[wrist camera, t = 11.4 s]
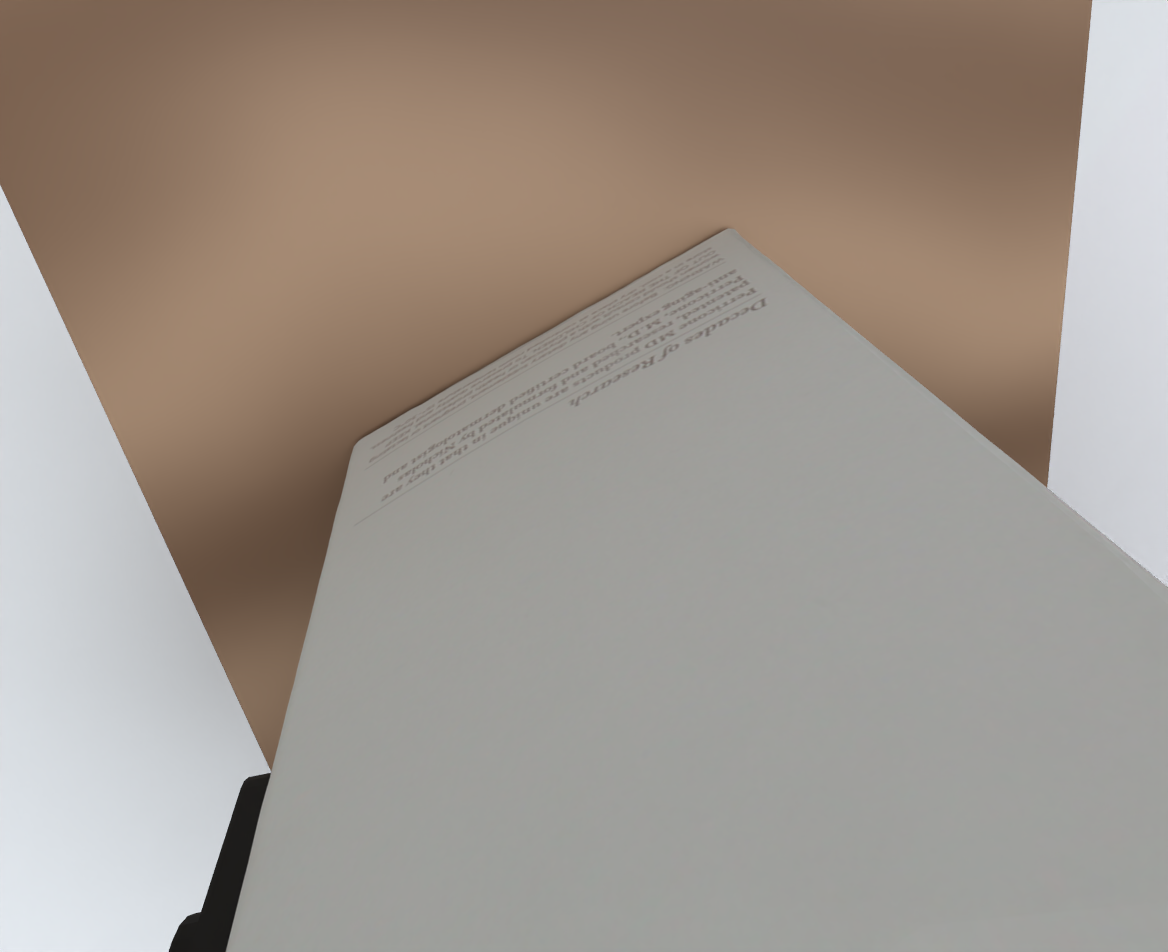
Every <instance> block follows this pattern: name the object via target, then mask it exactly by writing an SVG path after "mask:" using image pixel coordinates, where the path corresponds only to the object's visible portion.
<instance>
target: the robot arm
mask: <svg viewBox="0 0 1168 952" xmlns="http://www.w3.org/2000/svg"><path fill="white" fill-rule="evenodd" d="M270 775H271V773H267V774H263V775H258V776H253V777H248V778H247V779H246V780H245V781H244V783H243V785H242V787H241V790H240V793H239V796H238V799H237V802H236V805H235V808H234V811H233V814H232V818H231V821H230V824H229V827H228V830H227V833H226V836H225V839H224V842H223V846H222V849H221V852H220V855H219V858H218V861H217V864H216V867H215V870H214V874H213V877H212V880H211V883H210V886H209V889H208V892H207V895H206V898H205V902H204V905H203V908H202V911H201V912H199V913H195V914H192V915H189V916H187V917H186V919H185V920H184V921H183V922H182V923H181V924H180V925H179V927H178V930H177V932H176V934H175V936H174V938H173V941H172V943H171V946H170V949H169V952H226V949H227V945H228V941H229V937H230V933H231V929H232V925H233V921H234V917H235V913H236V909H237V905H238V901H239V897H240V893H241V889H242V885H243V881H244V877H245V873H246V870H247V866H248V862H249V857H250V853H251V849H252V845H253V840H254V836H255V832H256V828H257V824H258V820H259V816H260V812H261V808H262V804H263V800H264V797H265V793H266V790H267V786H268V783H269V779H270Z"/></svg>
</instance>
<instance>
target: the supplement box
mask: <svg viewBox="0 0 1168 952" xmlns="http://www.w3.org/2000/svg"><path fill="white" fill-rule="evenodd" d="M226 952H1168V587H1167V586H1166V585H1164V584H1163V583H1162V582H1161V581H1159V580H1158V579H1157V578H1156V577H1155V576H1153V575H1152V574H1151V573H1150V572H1148V571H1147V570H1146V569H1145V568H1143V567H1142V566H1141V565H1140V564H1139V563H1137V562H1136V561H1135V560H1134V559H1133V558H1131V557H1130V556H1129V555H1128V554H1126V553H1125V552H1124V551H1123V550H1122V549H1120V548H1119V547H1118V546H1117V545H1116V544H1114V543H1113V542H1112V541H1111V540H1109V539H1108V538H1107V537H1106V536H1105V535H1103V534H1102V533H1101V532H1100V531H1098V530H1097V529H1096V528H1095V527H1094V526H1092V525H1091V524H1090V523H1089V522H1088V521H1086V520H1085V519H1084V518H1083V517H1081V516H1080V515H1079V514H1078V513H1077V512H1075V511H1074V510H1073V509H1072V508H1071V507H1069V506H1068V505H1067V504H1066V503H1065V502H1063V501H1062V500H1061V499H1060V498H1059V497H1057V496H1056V495H1055V494H1054V493H1053V492H1051V491H1050V490H1049V489H1048V488H1047V487H1045V486H1044V485H1043V484H1042V483H1041V482H1039V481H1038V480H1037V479H1036V478H1035V477H1033V476H1032V475H1031V474H1030V473H1029V472H1027V471H1026V470H1025V469H1024V468H1023V467H1021V466H1020V465H1019V464H1018V463H1017V462H1015V461H1014V460H1013V459H1012V458H1010V457H1009V456H1008V455H1007V454H1005V453H1004V452H1003V451H1002V450H1000V449H999V448H998V447H997V446H995V445H994V444H993V443H992V442H990V441H989V440H988V439H987V438H985V437H984V436H983V435H982V434H980V433H979V432H978V431H977V430H976V429H974V428H973V427H972V426H971V425H970V424H968V423H967V422H966V421H965V420H964V419H962V418H961V417H960V416H959V415H958V414H956V413H955V412H954V411H953V410H952V409H950V408H949V407H948V406H947V405H946V404H944V403H943V402H942V401H941V400H940V399H938V398H937V397H936V396H935V395H934V394H932V393H931V392H930V391H929V390H928V389H926V388H925V387H924V386H923V385H922V384H920V383H919V382H918V381H917V380H915V379H914V378H913V377H912V376H911V375H909V374H908V373H907V372H906V371H904V370H903V369H902V368H901V367H900V366H898V365H897V364H896V363H895V362H893V361H892V360H891V359H890V358H889V357H887V356H886V355H885V354H884V353H882V352H881V351H880V350H879V349H877V348H876V347H875V346H874V345H873V344H871V343H870V342H869V341H868V340H866V339H865V338H864V337H863V336H862V335H860V334H859V333H858V332H857V331H855V330H854V329H853V328H852V327H851V326H849V325H848V324H847V323H846V322H845V321H843V320H842V319H841V318H840V317H839V316H837V315H836V314H835V313H834V312H833V311H831V310H830V309H829V308H828V307H827V306H825V305H824V304H823V303H822V302H820V301H819V300H818V299H816V298H815V297H814V296H813V295H812V294H811V293H810V292H808V291H807V290H806V289H805V288H804V287H802V286H801V285H800V284H799V283H797V282H796V281H795V280H794V279H792V278H791V277H790V276H789V275H788V274H787V273H786V272H785V271H784V270H782V269H781V268H780V267H779V266H777V265H776V264H775V263H774V262H772V261H771V260H770V259H769V258H768V257H766V256H765V255H763V254H762V253H761V252H760V251H758V250H757V249H756V248H755V247H754V246H752V245H751V244H750V243H749V242H747V241H746V240H745V239H744V238H742V237H741V236H740V235H739V233H738V232H737V231H736V230H735V229H729V228H728V229H726V230H724V231H722V232H720V233H719V234H717V235H715V236H713V237H711V238H709V239H708V240H706V241H704V242H702V243H700V244H699V245H697V246H695V247H694V248H692V249H690V250H688V251H687V252H685V253H683V254H681V255H680V256H678V257H676V258H674V259H672V260H670V261H669V262H667V263H665V264H663V265H661V266H659V267H658V268H656V269H655V270H653V271H651V272H650V273H648V274H646V275H644V276H643V277H641V278H639V279H637V280H635V281H634V282H632V283H631V284H629V285H627V286H626V287H624V288H622V289H620V290H618V291H617V292H615V293H613V294H612V295H610V296H608V297H607V298H605V299H603V300H601V301H599V302H597V303H596V304H594V305H592V306H590V307H588V308H586V309H584V310H582V311H581V312H579V313H577V314H576V315H574V316H572V317H571V318H569V319H567V320H566V321H564V322H562V323H561V324H559V325H557V326H556V327H554V328H552V329H551V330H549V331H547V332H545V333H544V334H542V335H540V336H538V337H536V338H535V339H533V340H531V341H529V342H527V343H525V344H524V345H522V346H520V347H518V348H517V349H515V350H513V351H512V352H510V353H508V354H506V355H505V356H503V357H501V358H500V359H498V360H496V361H494V362H493V363H491V364H489V365H488V366H486V367H484V368H483V369H481V370H479V371H477V372H476V373H474V374H472V375H470V376H468V377H467V378H465V379H463V380H461V381H459V382H458V383H456V384H454V385H453V386H451V387H449V388H448V389H446V390H444V391H443V392H441V393H439V394H438V395H436V396H434V397H433V398H431V399H429V400H428V401H426V402H425V403H423V404H421V405H419V406H417V407H415V408H413V409H411V410H409V411H407V412H406V413H404V414H402V415H401V416H399V417H398V418H396V419H394V420H393V421H391V422H389V423H388V424H386V425H385V426H383V427H381V428H379V429H378V430H376V431H374V432H372V433H371V434H369V435H367V436H365V437H364V438H362V439H361V440H359V441H358V442H357V443H356V445H355V446H354V447H353V451H352V454H351V458H350V461H349V466H348V470H347V475H346V479H345V483H344V487H343V491H342V495H341V499H340V502H339V505H338V508H337V512H336V516H335V520H334V524H333V528H332V533H331V537H330V540H329V545H328V549H327V554H326V557H325V561H324V565H323V569H322V573H321V576H320V580H319V584H318V589H317V593H316V597H315V601H314V605H313V609H312V613H311V618H310V621H309V625H308V629H307V633H306V637H305V641H304V645H303V648H302V652H301V656H300V660H299V664H298V668H297V672H296V676H295V681H294V685H293V689H292V692H291V696H290V700H289V703H288V707H287V711H286V715H285V719H284V724H283V728H282V732H281V736H280V740H279V744H278V748H277V752H276V755H275V759H274V763H273V767H272V771H271V775H270V779H269V783H268V786H267V790H266V793H265V797H264V800H263V804H262V808H261V812H260V816H259V820H258V824H257V828H256V832H255V836H254V840H253V845H252V849H251V853H250V857H249V862H248V866H247V870H246V873H245V877H244V881H243V885H242V889H241V893H240V897H239V901H238V905H237V909H236V913H235V917H234V921H233V925H232V929H231V933H230V937H229V941H228V945H227V949H226Z"/></svg>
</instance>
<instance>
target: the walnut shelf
mask: <svg viewBox="0 0 1168 952" xmlns="http://www.w3.org/2000/svg"><path fill="white" fill-rule="evenodd" d="M1091 8H1092V0H0V185H1V187H2V189H3V191H4V194H5V196H6V198H7V200H8V202H9V204H10V207H11V209H12V211H13V213H14V215H15V217H16V220H17V222H18V224H19V226H20V228H21V230H22V233H23V235H24V237H25V239H26V241H27V243H28V246H29V248H30V250H31V252H32V254H33V256H34V259H35V261H36V263H37V265H38V267H39V269H40V272H41V274H42V276H43V278H44V280H45V282H46V285H47V287H48V289H49V291H50V293H51V295H52V298H53V300H54V302H55V304H56V306H57V308H58V311H59V313H60V315H61V317H62V319H63V321H64V324H65V326H66V328H67V330H68V332H69V334H70V337H71V339H72V341H73V343H74V345H75V347H76V350H77V352H78V354H79V356H80V358H81V360H82V363H83V365H84V367H85V369H86V371H87V373H88V376H89V378H90V380H91V382H92V384H93V386H94V389H95V391H96V393H97V395H98V397H99V399H100V402H101V404H102V406H103V408H104V410H105V412H106V415H107V417H108V419H109V421H110V423H111V425H112V428H113V430H114V432H115V434H116V436H117V438H118V441H119V443H120V445H121V447H122V449H123V451H124V454H125V456H126V458H127V460H128V462H129V464H130V467H131V469H132V471H133V473H134V475H135V477H136V480H137V482H138V484H139V486H140V488H141V490H142V493H143V495H144V497H145V499H146V501H147V503H148V506H149V508H150V510H151V512H152V514H153V516H154V519H155V521H156V523H157V525H158V527H159V529H160V532H161V534H162V536H163V538H164V540H165V542H166V545H167V547H168V549H169V551H170V553H171V555H172V558H173V560H174V562H175V564H176V566H177V568H178V571H179V573H180V575H181V577H182V579H183V581H184V584H185V586H186V588H187V590H188V592H189V594H190V597H191V599H192V601H193V603H194V605H195V607H196V610H197V612H198V614H199V616H200V618H201V620H202V623H203V625H204V627H205V629H206V631H207V633H208V636H209V638H210V640H211V642H212V644H213V646H214V649H215V651H216V653H217V655H218V657H219V659H220V662H221V664H222V666H223V668H224V670H225V672H226V675H227V677H228V679H229V681H230V683H231V685H232V688H233V690H234V692H235V694H236V696H237V698H238V701H239V703H240V705H241V707H242V709H243V711H244V714H245V716H246V718H247V720H248V722H249V724H250V727H251V729H252V731H253V733H254V735H255V737H256V740H257V742H258V744H259V746H260V748H261V750H262V753H263V755H264V757H265V759H266V761H267V763H268V766H269V768H270V770H271V771H272V767H273V763H274V759H275V755H276V752H277V748H278V744H279V740H280V736H281V732H282V728H283V724H284V719H285V715H286V711H287V707H288V703H289V700H290V696H291V692H292V689H293V685H294V681H295V676H296V672H297V668H298V664H299V660H300V656H301V652H302V648H303V645H304V641H305V637H306V633H307V629H308V625H309V621H310V618H311V613H312V609H313V605H314V601H315V597H316V593H317V589H318V584H319V580H320V576H321V573H322V569H323V565H324V561H325V557H326V554H327V549H328V545H329V540H330V537H331V533H332V528H333V524H334V520H335V516H336V512H337V508H338V505H339V502H340V499H341V495H342V491H343V487H344V483H345V479H346V475H347V470H348V466H349V461H350V458H351V454H352V451H353V447H354V446H355V445H356V443H357V442H358V441H359V440H361V439H362V438H364V437H365V436H367V435H369V434H371V433H372V432H374V431H376V430H378V429H379V428H381V427H383V426H385V425H386V424H388V423H389V422H391V421H393V420H394V419H396V418H398V417H399V416H401V415H402V414H404V413H406V412H407V411H409V410H411V409H413V408H415V407H417V406H419V405H421V404H423V403H425V402H426V401H428V400H429V399H431V398H433V397H434V396H436V395H438V394H439V393H441V392H443V391H444V390H446V389H448V388H449V387H451V386H453V385H454V384H456V383H458V382H459V381H461V380H463V379H465V378H467V377H468V376H470V375H472V374H474V373H476V372H477V371H479V370H481V369H483V368H484V367H486V366H488V365H489V364H491V363H493V362H494V361H496V360H498V359H500V358H501V357H503V356H505V355H506V354H508V353H510V352H512V351H513V350H515V349H517V348H518V347H520V346H522V345H524V344H525V343H527V342H529V341H531V340H533V339H535V338H536V337H538V336H540V335H542V334H544V333H545V332H547V331H549V330H551V329H552V328H554V327H556V326H557V325H559V324H561V323H562V322H564V321H566V320H567V319H569V318H571V317H572V316H574V315H576V314H577V313H579V312H581V311H582V310H584V309H586V308H588V307H590V306H592V305H594V304H596V303H597V302H599V301H601V300H603V299H605V298H607V297H608V296H610V295H612V294H613V293H615V292H617V291H618V290H620V289H622V288H624V287H626V286H627V285H629V284H631V283H632V282H634V281H635V280H637V279H639V278H641V277H643V276H644V275H646V274H648V273H650V272H651V271H653V270H655V269H656V268H658V267H659V266H661V265H663V264H665V263H667V262H669V261H670V260H672V259H674V258H676V257H678V256H680V255H681V254H683V253H685V252H687V251H688V250H690V249H692V248H694V247H695V246H697V245H699V244H700V243H702V242H704V241H706V240H708V239H709V238H711V237H713V236H715V235H717V234H719V233H720V232H722V231H724V230H726V229H728V228H729V229H735V230H736V231H737V232H738V233H739V235H740V236H741V237H742V238H744V239H745V240H746V241H747V242H749V243H750V244H751V245H752V246H754V247H755V248H756V249H757V250H758V251H760V252H761V253H762V254H763V255H765V256H766V257H768V258H769V259H770V260H771V261H772V262H774V263H775V264H776V265H777V266H779V267H780V268H781V269H782V270H784V271H785V272H786V273H787V274H788V275H789V276H790V277H791V278H792V279H794V280H795V281H796V282H797V283H799V284H800V285H801V286H802V287H804V288H805V289H806V290H807V291H808V292H810V293H811V294H812V295H813V296H814V297H815V298H816V299H818V300H819V301H820V302H822V303H823V304H824V305H825V306H827V307H828V308H829V309H830V310H831V311H833V312H834V313H835V314H836V315H837V316H839V317H840V318H841V319H842V320H843V321H845V322H846V323H847V324H848V325H849V326H851V327H852V328H853V329H854V330H855V331H857V332H858V333H859V334H860V335H862V336H863V337H864V338H865V339H866V340H868V341H869V342H870V343H871V344H873V345H874V346H875V347H876V348H877V349H879V350H880V351H881V352H882V353H884V354H885V355H886V356H887V357H889V358H890V359H891V360H892V361H893V362H895V363H896V364H897V365H898V366H900V367H901V368H902V369H903V370H904V371H906V372H907V373H908V374H909V375H911V376H912V377H913V378H914V379H915V380H917V381H918V382H919V383H920V384H922V385H923V386H924V387H925V388H926V389H928V390H929V391H930V392H931V393H932V394H934V395H935V396H936V397H937V398H938V399H940V400H941V401H942V402H943V403H944V404H946V405H947V406H948V407H949V408H950V409H952V410H953V411H954V412H955V413H956V414H958V415H959V416H960V417H961V418H962V419H964V420H965V421H966V422H967V423H968V424H970V425H971V426H972V427H973V428H974V429H976V430H977V431H978V432H979V433H980V434H982V435H983V436H984V437H985V438H987V439H988V440H989V441H990V442H992V443H993V444H994V445H995V446H997V447H998V448H999V449H1000V450H1002V451H1003V452H1004V453H1005V454H1007V455H1008V456H1009V457H1010V458H1012V459H1013V460H1014V461H1015V462H1017V463H1018V464H1019V465H1020V466H1021V467H1023V468H1024V469H1025V470H1026V471H1027V472H1029V473H1030V474H1031V475H1032V476H1033V477H1035V478H1036V479H1037V480H1038V481H1039V482H1041V483H1042V484H1043V485H1044V486H1045V487H1047V482H1048V472H1049V461H1050V450H1051V439H1052V428H1053V418H1054V407H1055V396H1056V385H1057V375H1058V364H1059V353H1060V342H1061V331H1062V321H1063V310H1064V299H1065V288H1066V277H1067V267H1068V256H1069V245H1070V234H1071V223H1072V213H1073V202H1074V191H1075V180H1076V170H1077V159H1078V148H1079V137H1080V126H1081V116H1082V105H1083V94H1084V83H1085V72H1086V62H1087V51H1088V40H1089V29H1090V19H1091Z"/></svg>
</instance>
